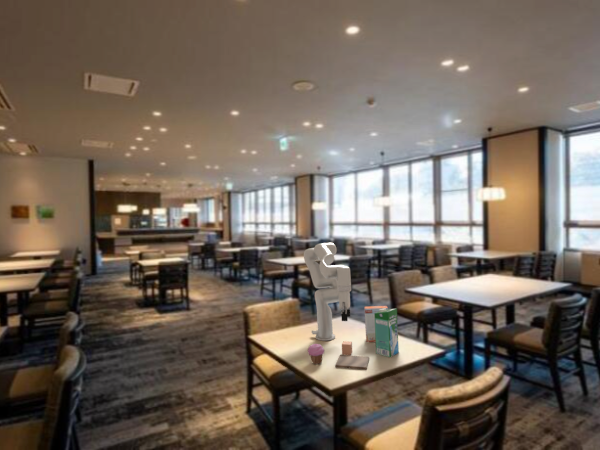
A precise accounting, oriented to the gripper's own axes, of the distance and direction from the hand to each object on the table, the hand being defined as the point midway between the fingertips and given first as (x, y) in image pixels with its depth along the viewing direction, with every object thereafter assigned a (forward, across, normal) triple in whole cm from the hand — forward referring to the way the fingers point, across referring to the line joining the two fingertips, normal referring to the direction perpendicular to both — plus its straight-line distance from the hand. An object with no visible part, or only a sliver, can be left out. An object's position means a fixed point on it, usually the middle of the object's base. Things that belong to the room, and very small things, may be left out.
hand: (346, 318), depth 203 cm
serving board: (+20, +12, +4) cm, 24 cm away
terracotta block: (+20, -1, 0) cm, 20 cm away
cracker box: (+20, -25, +14) cm, 35 cm away
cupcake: (+20, +15, -14) cm, 29 cm away
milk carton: (+20, -5, +22) cm, 30 cm away
